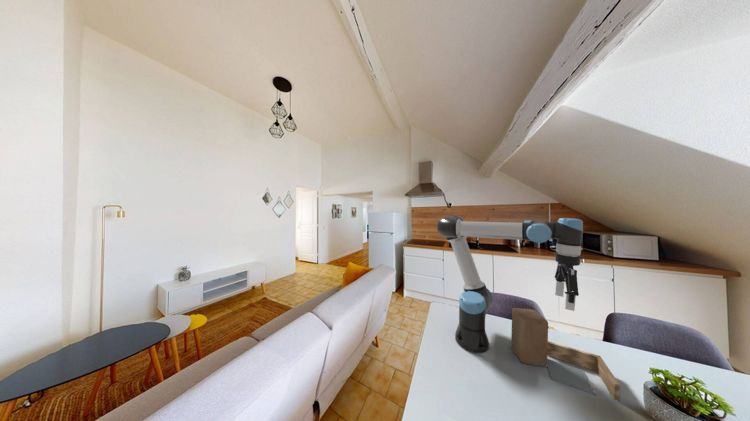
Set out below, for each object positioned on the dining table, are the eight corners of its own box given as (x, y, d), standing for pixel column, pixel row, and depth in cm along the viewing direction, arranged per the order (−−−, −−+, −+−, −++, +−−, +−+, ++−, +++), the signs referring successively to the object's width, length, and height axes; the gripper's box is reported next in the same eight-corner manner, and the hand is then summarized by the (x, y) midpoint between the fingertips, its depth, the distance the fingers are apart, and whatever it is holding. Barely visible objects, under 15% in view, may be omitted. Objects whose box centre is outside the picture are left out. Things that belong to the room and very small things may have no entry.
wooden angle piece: (554, 378, 77) (554, 363, 76) (545, 353, 90) (546, 340, 89) (619, 401, 68) (619, 385, 67) (599, 370, 80) (600, 356, 80)
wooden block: (548, 368, 81) (549, 321, 81) (521, 364, 83) (522, 318, 83) (534, 350, 91) (535, 308, 91) (510, 347, 93) (511, 306, 93)
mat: (551, 379, 76) (551, 378, 76) (544, 358, 86) (544, 357, 86) (595, 394, 70) (595, 394, 70) (582, 370, 80) (582, 370, 80)
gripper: (593, 263, 70) (588, 320, 72) (569, 249, 92) (565, 292, 93) (565, 260, 74) (561, 313, 75) (548, 247, 96) (545, 288, 97)
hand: (563, 302), depth 84 cm, fingers open, 13 cm apart
